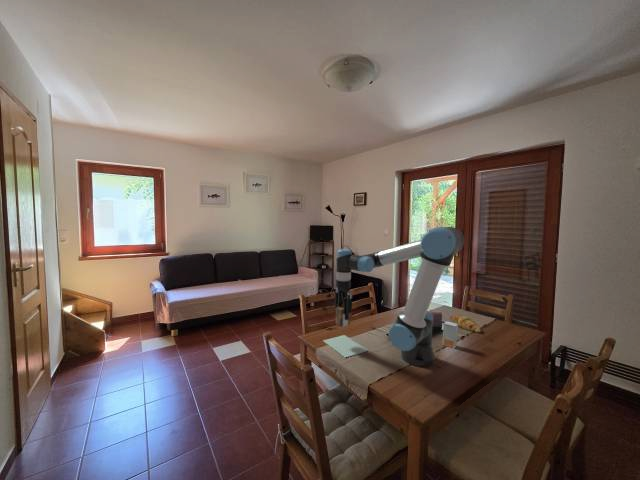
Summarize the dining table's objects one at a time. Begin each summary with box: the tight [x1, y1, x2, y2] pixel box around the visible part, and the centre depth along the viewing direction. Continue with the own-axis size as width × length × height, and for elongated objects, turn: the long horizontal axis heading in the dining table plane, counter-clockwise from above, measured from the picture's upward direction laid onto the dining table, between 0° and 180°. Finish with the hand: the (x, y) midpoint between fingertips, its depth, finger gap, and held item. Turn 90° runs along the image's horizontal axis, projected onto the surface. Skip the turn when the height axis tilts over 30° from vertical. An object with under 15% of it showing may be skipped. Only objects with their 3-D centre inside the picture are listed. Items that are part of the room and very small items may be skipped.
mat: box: [322, 334, 369, 359], centre depth 139 cm, size 20×14×1 cm
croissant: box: [449, 314, 482, 333], centre depth 166 cm, size 21×10×8 cm, turn 23°
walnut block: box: [335, 305, 351, 327], centre depth 140 cm, size 4×6×9 cm, turn 121°
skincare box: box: [441, 320, 459, 350], centre depth 140 cm, size 6×4×12 cm
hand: (342, 323), depth 140 cm, fingers closed on walnut block, 4 cm apart
